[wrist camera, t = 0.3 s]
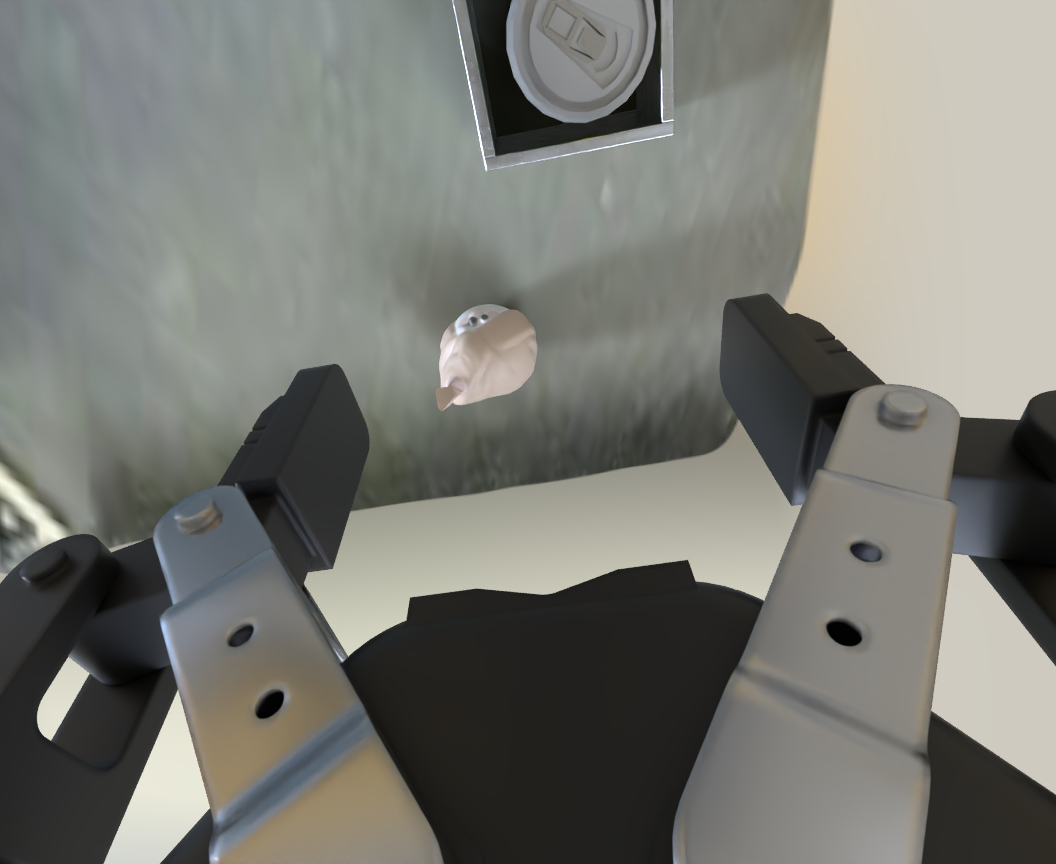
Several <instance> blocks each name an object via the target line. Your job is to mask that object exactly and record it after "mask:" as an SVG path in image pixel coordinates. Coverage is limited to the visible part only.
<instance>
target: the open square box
mask: <svg viewBox="0 0 1056 864" xmlns="http://www.w3.org/2000/svg"><path fill="white" fill-rule="evenodd" d="M452 2H453V7H454V12H455V17H456V22H457V27H458V32H459V37H460V42H461V47H462V52H463V57H464V62H465V67H466V72H467V77H468V83H469V88H470V93H471V98H472V103H473V108H474V113H475V118H476V123H477V128H478V133H479V138H480V143H481V148H482V153H483V157H484V163H485V168H486V171H491V170H496V169H502V168H507V167H512V166H517V165H522V164H527V163H532V162H538V161H543V160H548V159H553V158H558V157H563V156H568V155H574V154H579V153H584V152H589V151H594V150H599V149H604V148H610V147H615V146H620V145H625V144H630V143H635V142H641V141H646V140H651V139H656V138H661V137H666V136H671V135H674V121H673V120H674V8H673V0H653V5H654V13H655V21H656V30H655V38H654V45H653V53H652V56H651V58H650V61H649V63H648V66H647V68H646V71H645V74H644V76H643V79H642V81H641V82H640V83H639V85H638V86H637V87H636V106H637V109H636V110H631V111H626V112H621V113H616V114H611V115H607V116H604V117H602V118H599V119H596V120H593V121H590V122H587V123H572V122H571V123H566V124H561V125H556V126H550V127H545V128H540V129H535V130H530V131H525V132H520V133H515V134H510V135H505V136H500V137H496V130H495V125H494V119H493V114H492V108H491V103H490V97H489V92H488V86H487V81H486V75H485V70H484V64H483V59H482V53H481V48H480V42H479V36H478V31H477V25H476V20H475V14H474V9H473V3H472V0H452Z"/></svg>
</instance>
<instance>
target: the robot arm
mask: <svg viewBox="0 0 1056 864" xmlns="http://www.w3.org/2000/svg"><path fill="white" fill-rule="evenodd" d="M720 379H721V385H722V389H723V392H724V395H725V397H726V398H727V400H728V402H729V403H730V405H731V407H732V408H733V410H734V412H735V413H736V415H737V417H738V418H739V420H740V422H741V423H742V425H743V427H744V428H745V430H746V432H747V433H748V435H749V437H750V438H751V440H752V442H753V443H754V445H755V446H756V448H757V450H758V451H759V453H760V455H761V456H762V458H763V459H764V461H765V463H766V465H767V466H768V468H769V470H770V471H771V473H772V475H773V476H774V478H775V480H776V481H777V483H778V485H779V486H780V488H781V490H782V491H783V493H784V495H785V496H786V498H787V499H788V501H789V503H790V505H791V506H794V505H801V504H803V505H802V508H801V510H800V513H799V515H798V518H797V520H796V523H795V525H794V528H793V530H792V533H791V535H790V538H789V541H788V543H787V546H786V548H785V550H784V553H783V555H782V558H781V560H780V563H779V566H778V568H777V570H776V573H775V576H774V578H773V581H772V583H771V586H770V588H769V591H768V593H767V596H766V598H765V601H763V600H761V599H759V598H757V597H754V596H752V595H749V594H747V593H745V592H742V591H739V590H735V589H732V588H729V587H725V586H721V585H716V584H711V583H704V582H695V579H694V576H693V573H692V570H691V567H690V564H689V562H688V560H685V561H677V562H670V563H662V564H655V565H648V566H640V567H633V568H625V569H618V570H615V571H613V572H610V573H608V574H604V575H602V576H599V577H596V578H594V579H591V580H589V581H586V582H583V583H580V584H578V585H575V586H572V587H569V588H567V589H564V590H562V591H559V592H556V593H553V594H548V595H538V594H527V593H517V592H507V591H496V590H485V589H471V590H463V591H456V592H450V593H442V594H434V595H426V596H419V597H412V598H410V602H409V608H408V614H407V621H404V622H402V623H400V624H397V625H395V626H393V627H391V628H389V629H387V630H385V631H383V632H382V633H380V634H378V635H377V636H375V637H374V638H372V639H370V640H369V641H367V642H366V643H365V644H363V645H362V646H361V647H360V648H358V649H357V650H356V651H354V652H353V653H352V654H351V655H350V656H349V657H348V655H347V654H346V652H345V651H344V649H343V647H342V646H341V644H340V642H339V641H338V639H337V637H336V636H335V634H334V632H333V631H332V629H331V628H330V626H329V624H328V623H327V621H326V619H325V617H324V616H323V614H322V613H321V611H320V609H319V608H318V606H317V604H316V603H315V601H314V599H313V598H312V596H311V595H310V593H309V591H308V590H307V588H306V587H305V585H304V581H305V578H306V575H307V573H308V572H313V571H320V570H327V569H333V565H334V563H335V559H336V556H337V553H338V549H339V546H340V543H341V540H342V536H343V533H344V530H345V526H346V523H347V520H348V517H349V514H350V510H351V507H352V504H353V500H354V497H355V494H356V491H357V487H358V484H359V481H360V478H361V474H362V471H363V468H364V465H365V461H366V458H367V455H368V451H369V433H368V428H367V425H366V422H365V420H364V417H363V415H362V413H361V410H360V408H359V406H358V403H357V401H356V399H355V397H354V394H353V392H352V390H351V387H350V385H349V383H348V380H347V378H346V376H345V374H344V372H343V370H342V369H341V367H340V366H339V365H337V364H332V365H326V366H320V367H314V368H308V369H302V370H300V371H299V372H298V373H297V375H296V376H295V378H294V380H293V381H292V383H291V385H290V387H289V388H288V390H287V392H286V394H285V395H284V396H280V397H279V398H278V399H277V400H276V401H274V402H273V403H272V404H271V405H270V406H269V407H268V408H266V409H265V410H264V411H263V412H262V413H261V415H260V417H259V418H258V420H257V422H256V423H255V425H254V426H253V428H252V429H253V431H252V432H250V433H249V435H248V436H247V438H246V440H245V441H244V444H245V445H242V446H241V448H240V449H239V451H238V453H237V454H236V456H235V458H234V459H233V461H232V463H231V464H230V466H229V467H228V469H227V471H226V472H225V474H224V476H223V477H222V479H221V481H220V482H219V484H218V485H217V486H215V487H210V488H207V489H204V490H201V491H198V492H196V493H194V494H192V495H190V496H188V497H186V498H185V499H183V500H181V501H180V502H179V503H177V504H176V505H174V506H173V507H172V508H171V509H170V510H168V511H167V512H166V513H165V514H164V515H163V517H162V518H161V519H160V520H159V522H158V523H157V525H156V527H155V529H154V532H153V537H152V538H149V539H147V540H144V541H141V542H139V543H136V544H134V545H131V546H128V547H125V548H122V549H120V550H117V551H114V552H112V553H111V552H110V551H109V550H108V549H107V548H106V547H105V546H104V545H103V544H102V543H101V542H100V540H99V539H98V538H97V537H95V536H93V535H89V534H80V535H74V536H70V537H66V538H63V539H60V540H58V541H56V542H53V543H51V544H49V545H47V546H45V547H43V548H42V549H40V550H38V551H37V552H35V553H33V554H32V555H30V556H29V557H28V558H26V559H25V560H24V561H22V562H21V563H20V564H18V565H17V566H16V567H15V568H14V569H13V570H12V571H11V572H10V573H9V574H8V575H7V576H6V577H5V579H4V580H3V581H2V582H1V584H0V864H103V863H104V861H105V859H106V856H107V854H108V852H109V849H110V847H111V845H112V842H113V840H114V837H115V835H116V833H117V831H118V828H119V826H120V824H121V821H122V819H123V817H124V814H125V812H126V809H127V807H128V805H129V802H130V800H131V798H132V795H133V793H134V790H135V788H136V786H137V784H138V781H139V779H140V777H141V774H142V772H143V770H144V767H145V765H146V763H147V760H148V758H149V756H150V753H151V751H152V749H153V746H154V744H155V742H156V739H157V737H158V735H159V732H160V730H161V728H162V725H163V723H164V720H165V718H166V716H167V714H168V711H169V709H170V706H171V704H172V702H173V700H174V697H175V695H176V692H177V690H179V694H180V698H181V702H182V705H183V709H184V713H185V716H186V720H187V724H188V727H189V731H190V735H191V738H192V742H193V746H194V750H195V753H196V757H197V761H198V764H199V768H200V771H201V775H202V779H203V782H204V786H205V790H206V794H207V797H208V801H209V805H210V809H209V810H208V811H207V812H206V813H205V814H204V816H203V817H202V818H201V819H200V820H199V821H198V822H197V823H196V824H195V825H194V827H193V828H192V829H191V830H190V831H189V832H188V833H187V834H186V836H185V837H184V838H183V839H182V840H181V841H180V842H179V843H178V844H177V845H176V847H175V848H174V849H173V850H172V851H171V852H170V853H169V854H168V855H167V857H166V858H165V859H164V860H163V861H162V862H161V863H160V864H1056V795H1055V794H1054V793H1052V792H1051V791H1049V790H1048V789H1046V788H1045V787H1043V786H1042V785H1041V784H1039V783H1038V782H1036V781H1035V780H1033V779H1032V778H1030V777H1029V776H1027V775H1026V774H1024V773H1023V772H1021V771H1020V770H1018V769H1017V768H1015V767H1014V766H1012V765H1011V764H1009V763H1008V762H1006V761H1005V760H1003V759H1002V758H1000V757H999V756H997V755H996V754H994V753H993V752H992V751H990V750H988V749H987V748H986V747H984V746H983V745H981V744H980V743H978V742H977V741H975V740H974V739H972V738H971V737H969V736H968V735H966V734H965V733H963V732H962V731H960V730H959V729H957V728H956V727H954V726H953V725H951V724H950V723H948V722H947V721H945V720H944V719H942V718H941V717H939V716H938V715H937V714H935V713H934V712H932V711H931V708H932V700H933V692H934V685H935V678H936V670H937V662H938V655H939V648H940V640H941V633H942V625H943V617H944V610H945V603H946V595H947V588H948V580H949V573H950V565H951V558H952V553H954V554H962V555H968V556H969V557H970V558H971V560H972V561H973V562H974V563H975V564H976V566H977V567H978V568H979V570H980V571H981V572H982V573H983V575H984V576H985V577H986V578H987V580H988V581H989V582H990V584H991V585H992V586H993V587H994V589H995V590H996V591H997V592H998V594H999V595H1000V596H1001V597H1002V599H1003V600H1004V601H1005V602H1006V604H1007V605H1008V606H1009V608H1010V609H1011V610H1012V611H1013V613H1014V614H1015V615H1016V616H1017V617H1018V619H1019V620H1020V621H1021V623H1022V624H1023V625H1024V626H1025V628H1026V629H1027V630H1028V631H1029V633H1030V634H1031V635H1032V637H1033V638H1034V639H1035V640H1036V642H1037V643H1038V644H1039V646H1040V647H1041V648H1042V649H1043V651H1044V652H1045V653H1046V654H1047V656H1048V657H1049V658H1050V659H1051V661H1052V662H1053V663H1054V664H1055V666H1056V390H1055V391H1048V392H1044V393H1041V394H1039V395H1037V396H1035V397H1033V398H1032V399H1031V400H1030V401H1029V403H1028V405H1027V407H1026V409H1025V411H1024V413H1023V415H1022V417H1021V419H1020V420H1006V419H985V418H964V417H960V415H959V413H958V411H957V410H956V408H955V407H954V406H953V405H952V404H951V403H950V402H948V401H947V400H946V399H944V398H943V397H940V396H939V395H937V394H934V393H932V392H929V391H927V390H924V389H920V388H916V387H912V386H905V385H895V384H885V383H884V382H883V381H882V380H881V379H879V378H878V377H877V376H876V375H875V374H874V373H873V372H872V371H871V370H870V369H869V368H868V367H867V366H866V365H865V364H863V362H861V361H860V360H859V359H858V358H857V357H856V356H855V355H854V354H853V353H852V352H851V351H847V348H846V347H845V346H844V345H843V344H842V343H841V342H840V341H839V340H835V336H834V335H833V334H832V333H830V332H829V331H828V330H827V329H826V328H825V327H824V326H823V325H822V324H821V323H819V322H817V321H814V320H812V319H809V318H807V317H805V316H803V315H800V314H798V313H795V314H788V313H787V312H786V311H785V310H784V309H783V308H782V307H781V306H780V305H779V304H778V303H777V302H776V301H775V300H774V299H773V298H772V297H771V296H770V295H769V294H767V293H766V294H759V295H753V296H747V297H741V298H735V299H729V300H727V302H726V304H725V307H724V312H723V326H722V341H721V356H720ZM68 657H70V658H71V659H72V660H73V661H75V662H76V663H77V664H79V665H80V666H81V667H82V668H84V669H85V670H86V671H87V672H89V673H90V674H89V676H88V678H87V680H86V681H85V683H84V685H83V686H82V688H81V690H80V692H79V693H78V695H77V697H76V699H75V700H74V702H73V704H72V706H71V707H70V709H69V711H68V712H67V714H66V716H65V718H64V720H63V721H62V723H61V725H60V726H59V728H58V730H57V732H56V734H55V735H54V737H53V739H52V740H51V741H50V740H48V739H47V738H45V737H44V736H43V735H42V734H41V732H40V731H39V728H38V724H37V711H38V707H39V704H40V702H41V700H42V698H43V696H44V694H45V693H46V691H47V689H48V688H49V686H50V685H51V683H52V681H53V680H54V678H55V677H56V675H57V674H58V672H59V670H60V669H61V667H62V666H63V664H64V662H65V661H66V659H67V658H68Z"/></svg>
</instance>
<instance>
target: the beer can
mask: <svg viewBox="0 0 1056 864" xmlns="http://www.w3.org/2000/svg"><path fill="white" fill-rule="evenodd" d="M655 30H656V21H655V13H654V5H653V0H512V2H511V6H510V10H509V14H508V18H507V21H506V49H507V53H508V57H509V61H510V64H511V68H512V72H513V76H514V78H515V80H516V81H517V83H518V85H519V86H520V88H521V90H522V91H523V93H524V95H525V97H526V98H527V99H528V100H529V101H530V102H531V103H532V104H533V105H534V106H536V107H537V108H538V109H539V110H540V111H541V112H542V113H543V114H545V115H548V116H550V117H553V118H555V119H557V120H560V121H562V122H572V123H587V122H590V121H593V120H596V119H599V118H602V117H604V116H607V115H609V114H610V113H611V112H613V111H614V110H615V109H617V108H618V107H619V106H620V105H622V104H623V103H624V102H626V101H627V100H628V98H629V97H630V95H631V94H632V93H633V91H634V90H635V89H636V87H637V86H638V85H639V83H640V82H641V81H642V79H643V76H644V74H645V71H646V68H647V66H648V63H649V61H650V58H651V56H652V53H653V45H654V38H655Z"/></svg>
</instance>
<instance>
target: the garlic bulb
mask: <svg viewBox="0 0 1056 864" xmlns="http://www.w3.org/2000/svg"><path fill="white" fill-rule="evenodd" d="M440 349H441V357H440V361H439V370H440V376H441V388H435V392H436V398H437V403H438V409H440V410H441V411H443V410H444V409H446V408H447V407H448V406H450V404H451V403H454V404H457V405H465V404H470V403H473V402H477V401H481V400H484V399H486V398H489V397H494V396H500V395H505V394H509V393H511V392H513V391H515V390H517V389H518V388H520V387H521V386H522V385H523V384H524V382H525V381H526V380H527V379H528V378H529V377H530V376H531V374H532V373H533V371H534V365H535V360H536V354H537V343H536V336H535V329H534V327H533V326H532V324H531V323H530V322H529V321H528V319H527V318H526V317H525V316H524V315H523V314H522V313H521V312H519V311H518V310H510V309H508V308H505V307H503V306H499V305H494V304H483V305H478V306H475V307H472V308H470V309H468V310H467V311H465V312H464V313H463V314H462V315H461V316H460V317H459V318H458V319H457V320H456V321H455V322H453V323H451V324H450V325H449V327H448V328H447V329H446V331H445V333H444V335H443V337H442V340H441V344H440Z"/></svg>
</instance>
